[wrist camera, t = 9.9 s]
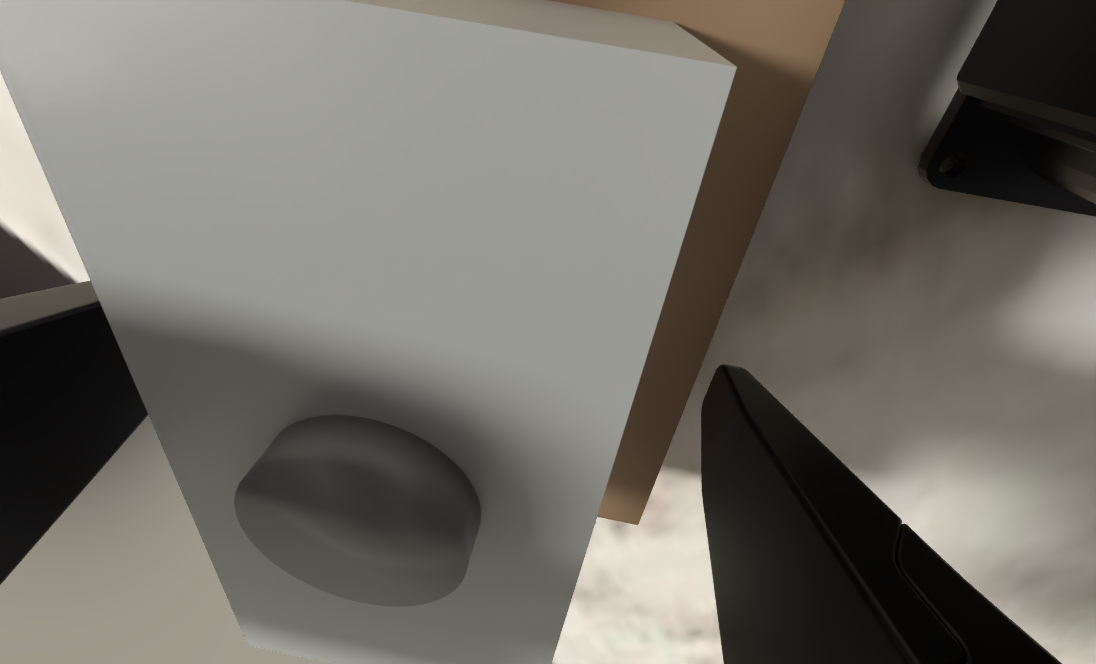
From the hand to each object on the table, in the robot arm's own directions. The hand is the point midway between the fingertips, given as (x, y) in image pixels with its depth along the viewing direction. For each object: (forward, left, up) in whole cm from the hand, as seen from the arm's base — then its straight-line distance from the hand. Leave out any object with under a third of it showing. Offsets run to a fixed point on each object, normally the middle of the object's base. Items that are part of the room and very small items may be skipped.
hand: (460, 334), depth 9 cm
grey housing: (0, 0, -2) cm, 3 cm away
